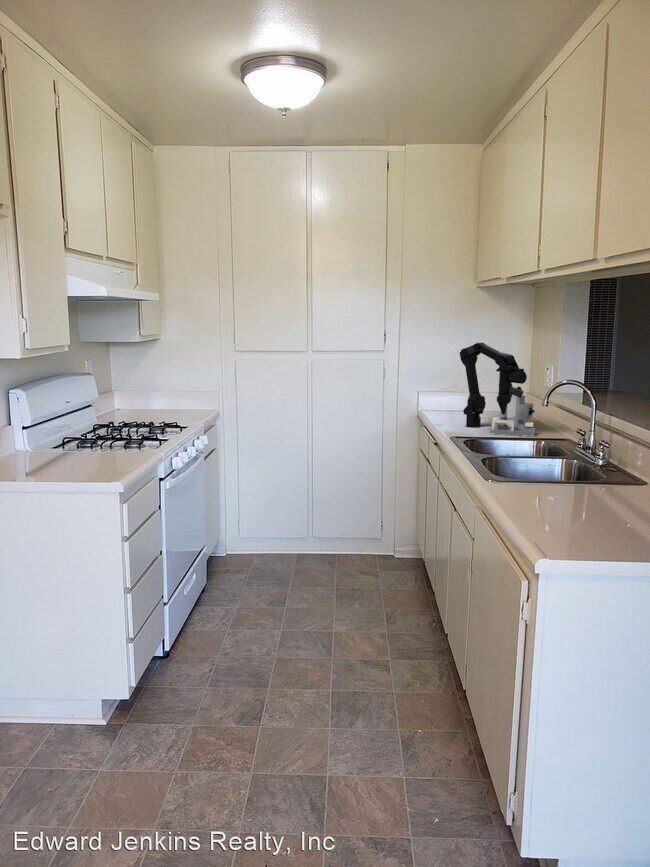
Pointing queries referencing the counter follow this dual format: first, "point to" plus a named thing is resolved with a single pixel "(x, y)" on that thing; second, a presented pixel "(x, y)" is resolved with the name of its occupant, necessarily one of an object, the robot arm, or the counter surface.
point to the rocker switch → (528, 424)
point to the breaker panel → (511, 430)
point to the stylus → (503, 417)
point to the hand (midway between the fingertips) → (503, 414)
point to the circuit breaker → (519, 410)
